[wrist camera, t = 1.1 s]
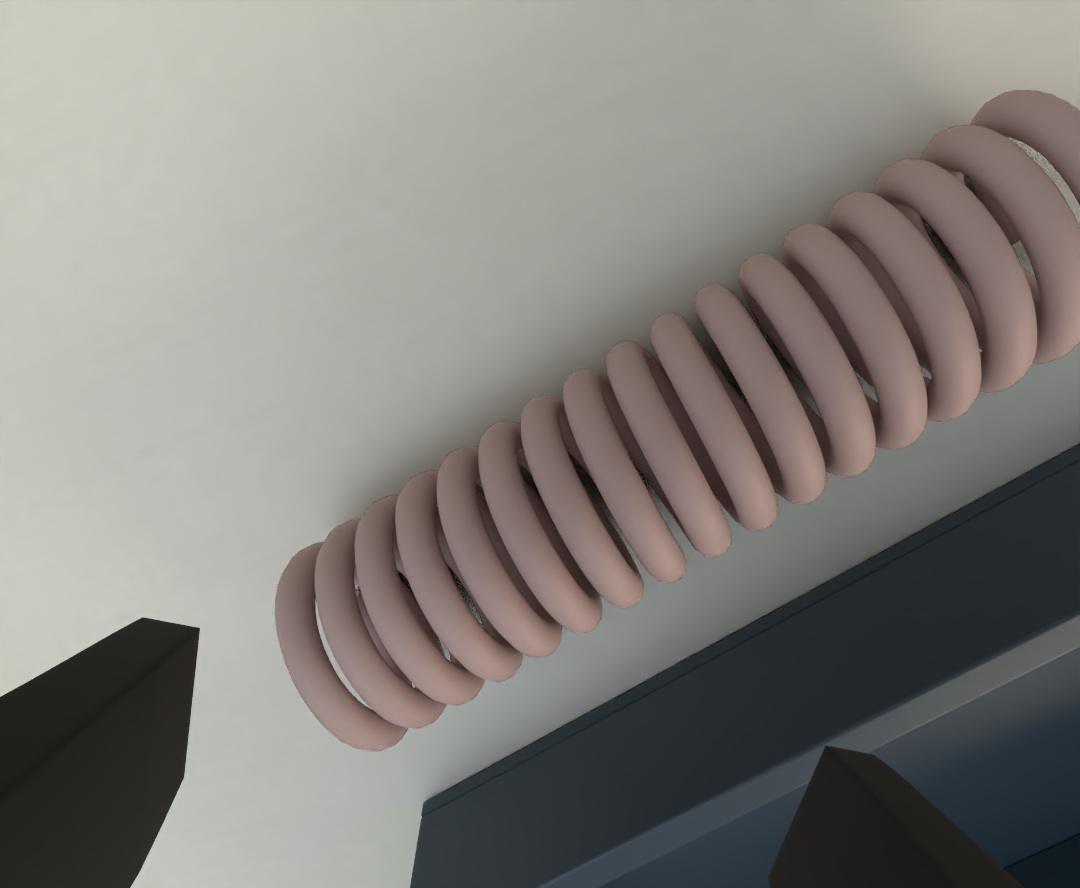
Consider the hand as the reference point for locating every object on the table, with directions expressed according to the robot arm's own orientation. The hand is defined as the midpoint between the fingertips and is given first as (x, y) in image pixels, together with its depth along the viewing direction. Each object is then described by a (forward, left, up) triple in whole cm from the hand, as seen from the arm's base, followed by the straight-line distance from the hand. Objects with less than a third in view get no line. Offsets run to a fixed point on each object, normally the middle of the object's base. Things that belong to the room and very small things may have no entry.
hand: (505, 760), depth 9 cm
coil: (-1, -3, -10) cm, 11 cm away
